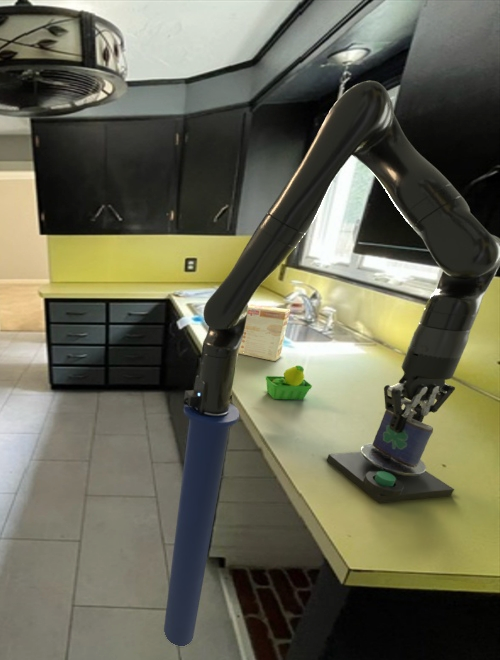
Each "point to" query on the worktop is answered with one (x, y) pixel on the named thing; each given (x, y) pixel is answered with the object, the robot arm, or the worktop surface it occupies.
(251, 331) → the coffeecake box
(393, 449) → the flask
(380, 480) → the tare button
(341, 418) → the worktop surface
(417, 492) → the scale
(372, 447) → the scale pan
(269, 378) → the fruit basket
